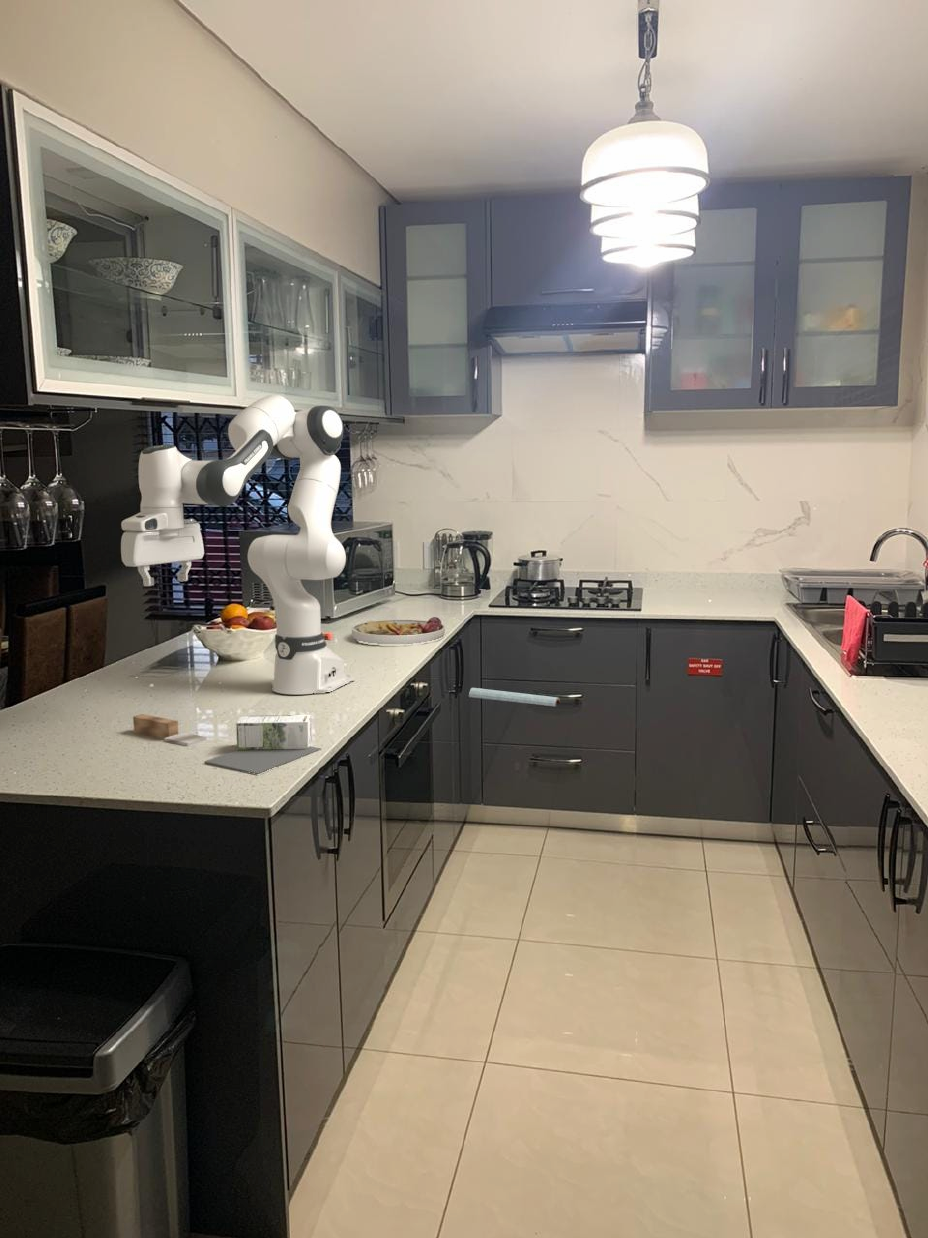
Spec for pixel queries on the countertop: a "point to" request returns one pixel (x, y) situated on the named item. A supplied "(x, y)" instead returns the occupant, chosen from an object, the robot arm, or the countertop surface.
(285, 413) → the robot arm
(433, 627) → the plate of food
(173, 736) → the tan wooden bar
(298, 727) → the syrup box
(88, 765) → the countertop surface
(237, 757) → the mat
